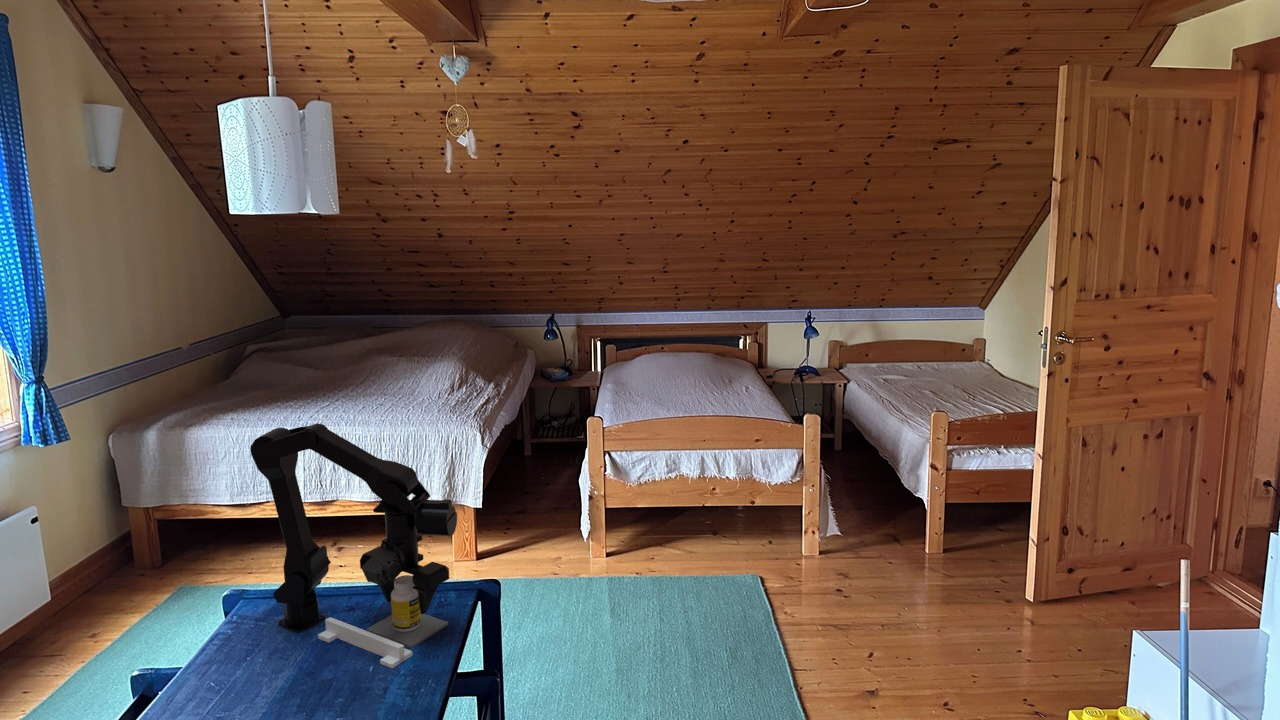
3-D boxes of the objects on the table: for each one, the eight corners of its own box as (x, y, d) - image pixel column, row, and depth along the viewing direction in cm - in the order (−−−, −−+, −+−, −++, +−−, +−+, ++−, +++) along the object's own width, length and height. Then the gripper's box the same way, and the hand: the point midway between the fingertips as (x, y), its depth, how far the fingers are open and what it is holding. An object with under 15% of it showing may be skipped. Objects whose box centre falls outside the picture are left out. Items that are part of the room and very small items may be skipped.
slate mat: (366, 631, 160) (366, 629, 160) (404, 609, 168) (404, 607, 168) (410, 648, 154) (410, 646, 154) (448, 624, 162) (448, 622, 162)
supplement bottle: (413, 634, 158) (410, 587, 156) (387, 631, 159) (384, 584, 157) (426, 620, 163) (423, 574, 161) (400, 617, 164) (397, 572, 162)
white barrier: (318, 638, 157) (316, 624, 157) (339, 626, 161) (338, 612, 161) (392, 668, 147) (390, 653, 147) (412, 655, 152) (411, 640, 151)
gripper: (334, 537, 155) (340, 613, 158) (405, 559, 146) (410, 639, 149) (379, 517, 164) (385, 589, 167) (449, 537, 155) (453, 612, 158)
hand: (406, 607), depth 160 cm, fingers open, 9 cm apart
